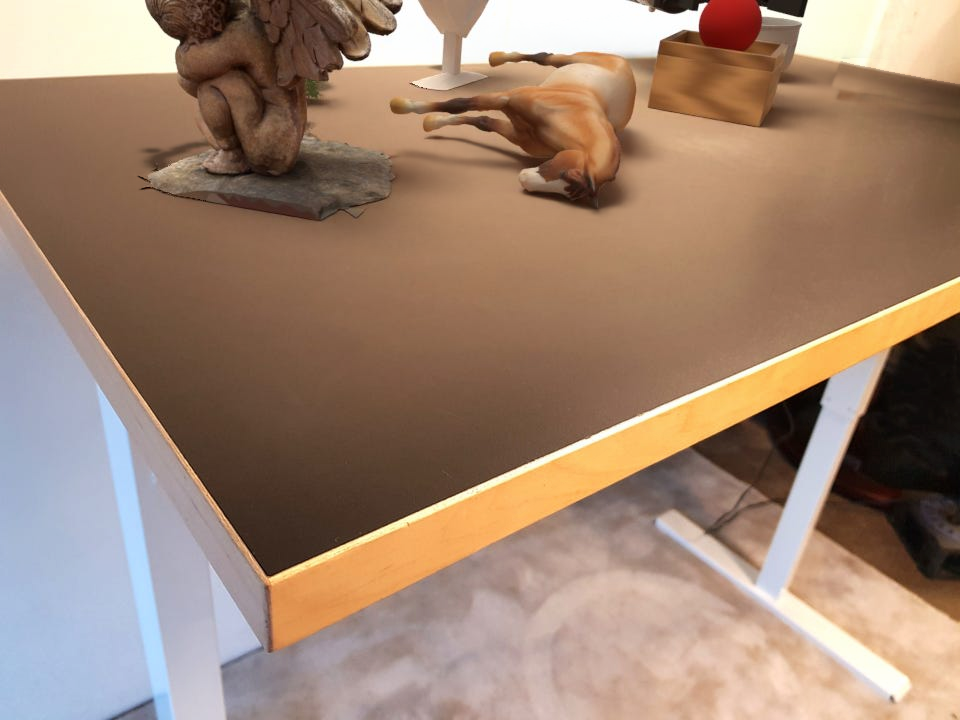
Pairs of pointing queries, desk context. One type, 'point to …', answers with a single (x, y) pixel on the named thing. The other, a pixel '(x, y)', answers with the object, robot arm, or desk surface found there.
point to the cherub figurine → (271, 102)
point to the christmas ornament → (730, 24)
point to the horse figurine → (553, 119)
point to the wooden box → (716, 79)
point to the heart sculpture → (452, 39)
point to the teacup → (781, 34)
